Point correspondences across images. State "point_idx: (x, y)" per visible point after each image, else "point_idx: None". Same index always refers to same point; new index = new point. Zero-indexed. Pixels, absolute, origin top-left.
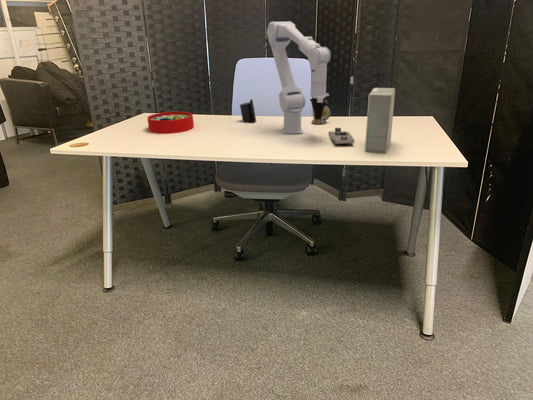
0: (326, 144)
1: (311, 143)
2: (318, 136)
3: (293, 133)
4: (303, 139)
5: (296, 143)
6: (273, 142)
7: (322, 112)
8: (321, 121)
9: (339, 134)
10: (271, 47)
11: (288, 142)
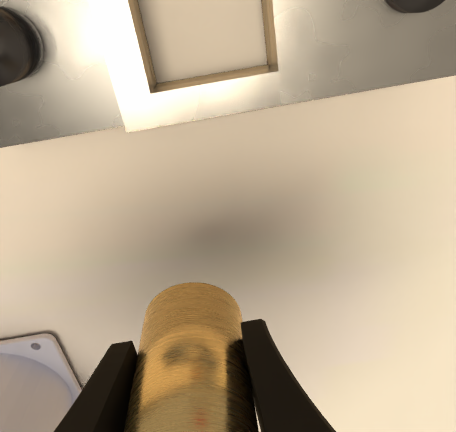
0: (349, 142)
1: (315, 249)
2: (101, 218)
3: (75, 378)
4: None
5: (312, 330)
6: None
7: (300, 387)
8: (198, 288)
9: (138, 25)
10: None
11: None
